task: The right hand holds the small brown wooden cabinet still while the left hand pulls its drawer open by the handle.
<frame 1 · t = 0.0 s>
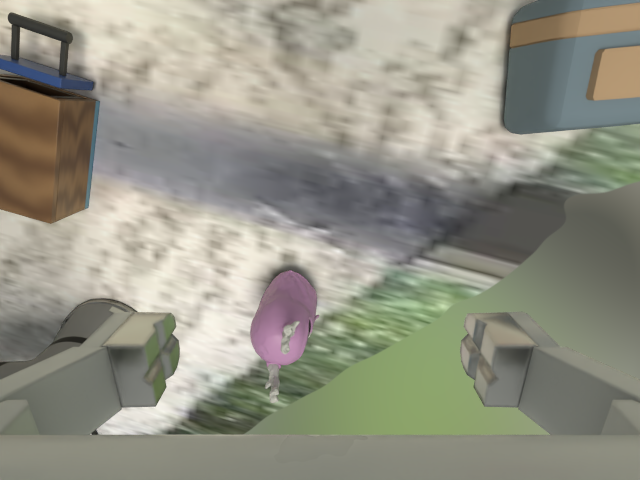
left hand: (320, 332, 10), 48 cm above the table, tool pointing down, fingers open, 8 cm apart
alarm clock: (559, 69, 51), on the table
drawer: (38, 107, 49), point 4 cm above the table, slide at 1.3 cm
toy character: (291, 294, 64), on the table
cabinet: (57, 145, 55), on the table
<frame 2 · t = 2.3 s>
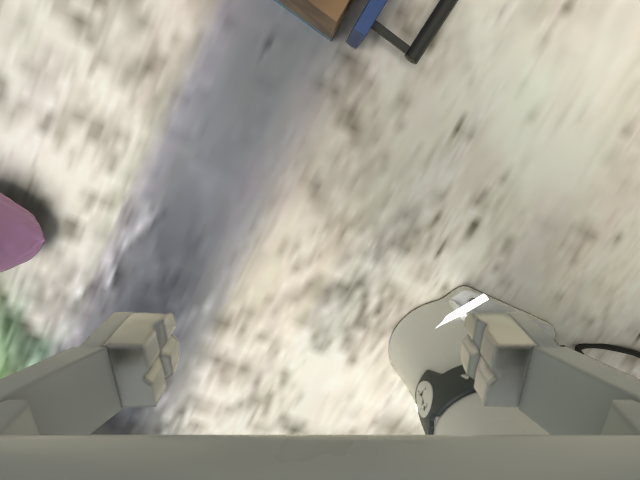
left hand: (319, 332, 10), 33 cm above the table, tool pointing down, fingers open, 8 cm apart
toy character: (8, 217, 42), on the table
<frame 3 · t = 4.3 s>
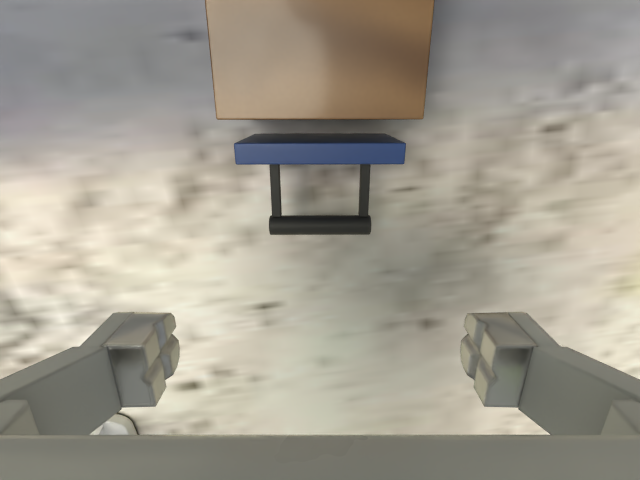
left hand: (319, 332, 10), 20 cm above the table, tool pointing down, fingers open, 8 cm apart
drawer: (319, 71, 22), point 4 cm above the table, slide at 1.3 cm
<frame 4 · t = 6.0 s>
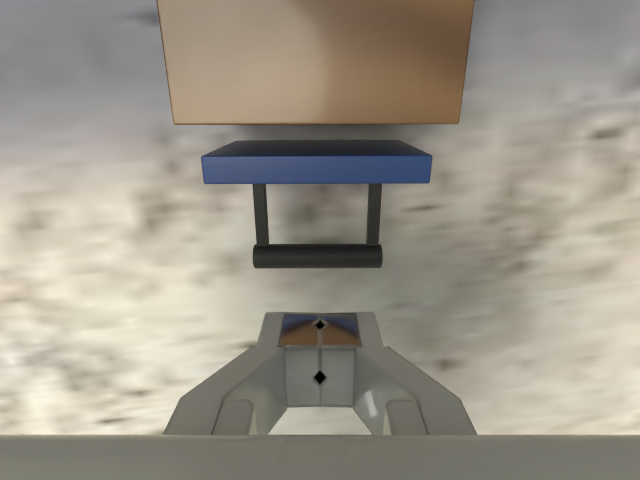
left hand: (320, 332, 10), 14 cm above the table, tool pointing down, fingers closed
drawer: (316, 59, 17), point 4 cm above the table, slide at 1.3 cm
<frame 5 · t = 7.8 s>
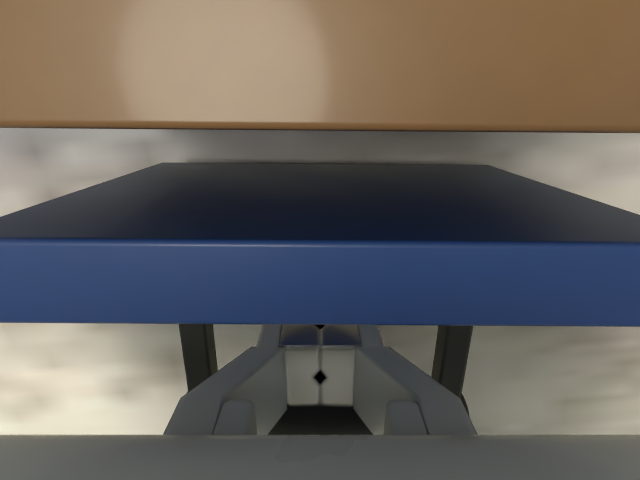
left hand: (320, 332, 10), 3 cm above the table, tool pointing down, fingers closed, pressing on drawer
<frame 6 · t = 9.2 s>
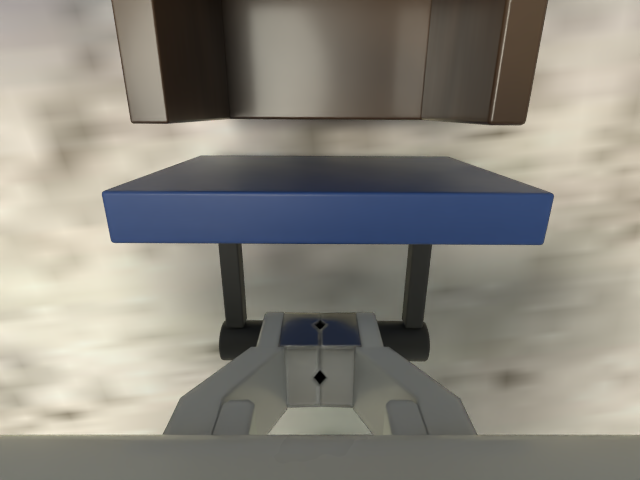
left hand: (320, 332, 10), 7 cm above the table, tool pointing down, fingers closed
drawer: (327, 18, 10), point 5 cm above the table, slide at 6.2 cm
when the right hand's fingers open (4 cm above the table, at t = 10.5 s): cabinet stays where it is, on the table.
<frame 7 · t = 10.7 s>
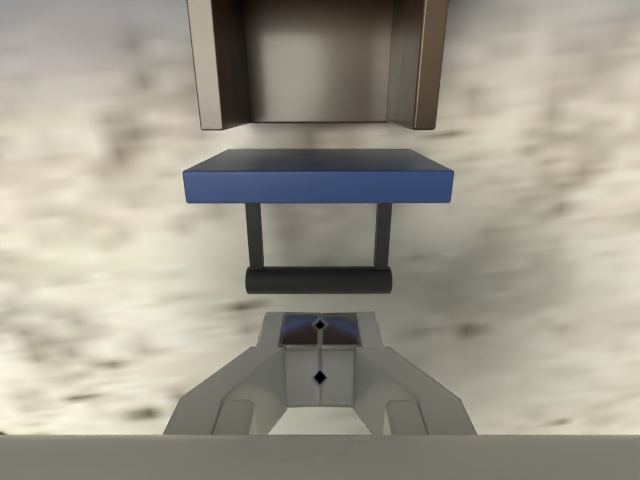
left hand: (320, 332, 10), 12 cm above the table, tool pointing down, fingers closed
drawer: (318, 58, 15), point 4 cm above the table, slide at 6.2 cm
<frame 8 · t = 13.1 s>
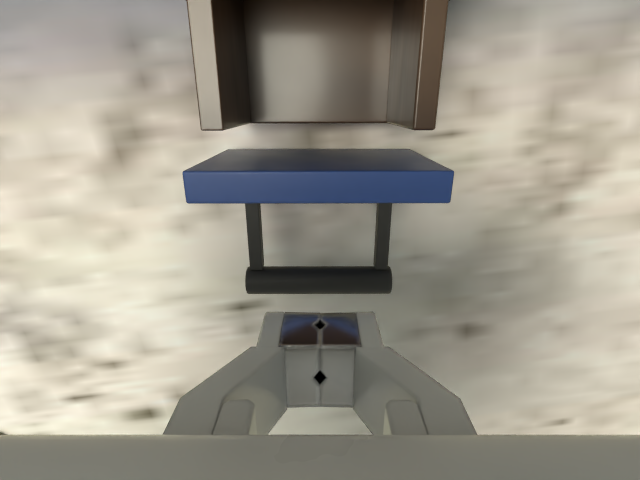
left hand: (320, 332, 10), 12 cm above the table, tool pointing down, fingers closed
drawer: (318, 58, 15), point 4 cm above the table, slide at 6.2 cm
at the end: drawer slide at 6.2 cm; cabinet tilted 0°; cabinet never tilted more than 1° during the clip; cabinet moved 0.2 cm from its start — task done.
